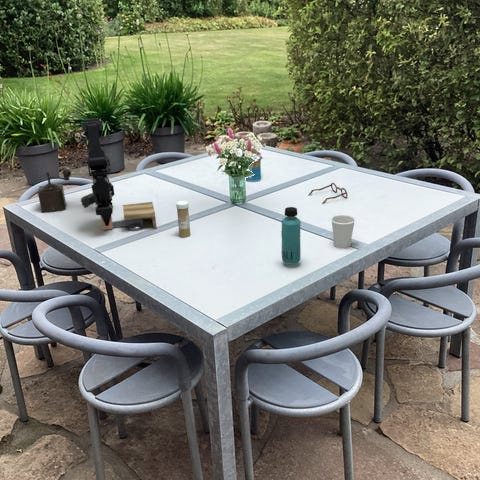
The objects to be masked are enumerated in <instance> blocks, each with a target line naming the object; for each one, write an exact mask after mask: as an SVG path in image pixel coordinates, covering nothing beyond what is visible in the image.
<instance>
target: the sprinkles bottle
mask: <svg viewBox="0 0 480 480" xmlns="http://www.w3.org/2000/svg"><path fill="white" fill-rule="evenodd" d="M175 206H176V207H175V208H176V210H177V212H176V214H177V226H178V235H179V237H181V238H188V237H190V236H191V234H192V233H191V225H190V224H191V223H190V212H189V207H190V206H189V202H188V201H187V200H179V201H177V202H176V203H175Z"/></svg>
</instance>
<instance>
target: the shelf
mask: <svg viewBox="0 0 480 480" xmlns="http://www.w3.org/2000/svg"><path fill="white" fill-rule="evenodd" d="M122 209H123V210H122V211H123V212H122V213H123V220H132V219H141V218H142V220H143V221H145V220H146V221H147V220H151V224H152V227H153V230H157V229H158V227H157V220H156V212H155V208H154V203H153V201H149V202H147V201H146V202H138V203H130V204H122Z"/></svg>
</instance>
